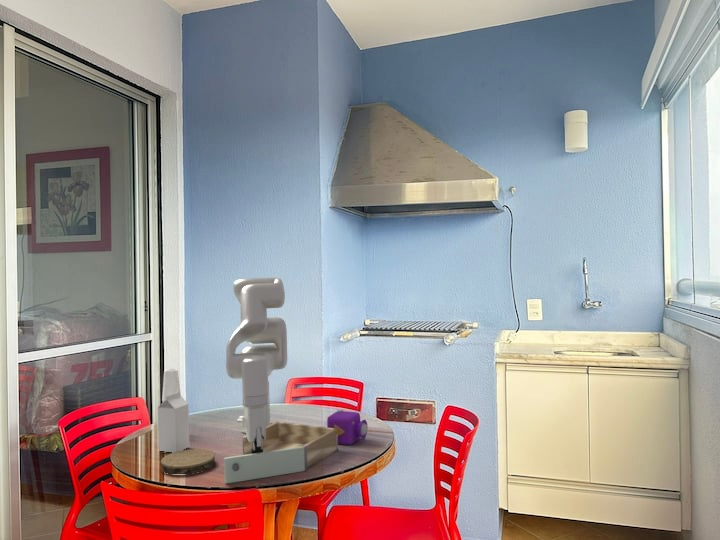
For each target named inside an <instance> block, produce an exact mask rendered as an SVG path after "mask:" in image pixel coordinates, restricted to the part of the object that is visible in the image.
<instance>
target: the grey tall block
mask: <svg viewBox="0 0 720 540" xmlns="http://www.w3.org/2000/svg"><path fill="white" fill-rule="evenodd" d="M180 386H181V385H180V378H179V372H178V369H177V368H168V369H167V368H166V369H164V371H163V380H162V395H161V396H162V398H161V401H162V403H163V402H164V399H165V398H166V396H168V395H171V394H174V393H176V392H180V395H181V396H182V394H181V387H180Z"/></svg>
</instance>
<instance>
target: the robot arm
mask: <svg viewBox="0 0 720 540" xmlns="http://www.w3.org/2000/svg"><path fill="white" fill-rule="evenodd" d="M232 287H233V292H234V296H235V298H236V299H237V301H238V302H239V305H240V325H239V326H238V327H237V328H236V329H235V330H234V331H233V332H232V334H231V336H230V337H229V339H228V341H227V345H226V350H225V351H226V353H225V357H226V359H225V370H226V374H227V376H228V377H230V378H231V379H233V380H238V379H241V381H242V382H241V384H242V385H241V388H242V407H243V409H244V410H243V413H244V415H240V416H239V417H238V418H237V420H236V421H237V423H238V424H239V423H240V424H242V425H241V427H240V432H241V433H244V434H245V436H247V439H248V441H249V442H251V441H252V448H251V453H252V454H254V453H261V452H263V441H264V440H265V439H266V426H269V425H271V424H273V423H274V422H271V406H270V404H271V403H270V400H271V399H270V382H269V381H270V380H269V376H270V375H271V374H272V372H273V371H276V370H277V371H278V370H283V369H285V368H286V366H287V364H288V335H287V334H288V333H287V324H286V321H285V320H284V318H282V317H276V316H275V317H268V313H267V312H268V311H267V310H268V309H279V308H282V307H283V306H284V304H285V301H286V297H285V294H286V293H285V287H284V283H283V281H282V279H281V278H280V277H250V278H249V277H248V278H247V277H246V278H245V277H244V278H239V279H237V280H235V281H234V282H233V285H232ZM244 342H246V343H247V344H251V345H248V346H245V347H243V349H242V350H241V351H240V353H236V351H237V348H238V347H239V346H240V345H241V344H242V343H244Z"/></svg>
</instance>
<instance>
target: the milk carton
mask: <svg viewBox="0 0 720 540" xmlns="http://www.w3.org/2000/svg"><path fill="white" fill-rule="evenodd" d="M180 392H181V391H180ZM180 392H176V393H174V394H171V395H168V396H166V398H165V399H164V402H162V403H161V404H160V405H159V406H158V407H157V427H158V428H157V429H158V430H157V433H158V434H157V435H158V452H159V451H165V452H164V453H166V452H173V453H174V452H177V451H181V450H184V449H185V450H187V449H188V448H190V420H189V419H190V417H189V403H188V401H186V399H185V398H184V397H183V396H182V394H181V395H180ZM186 448H187V449H186Z"/></svg>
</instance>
